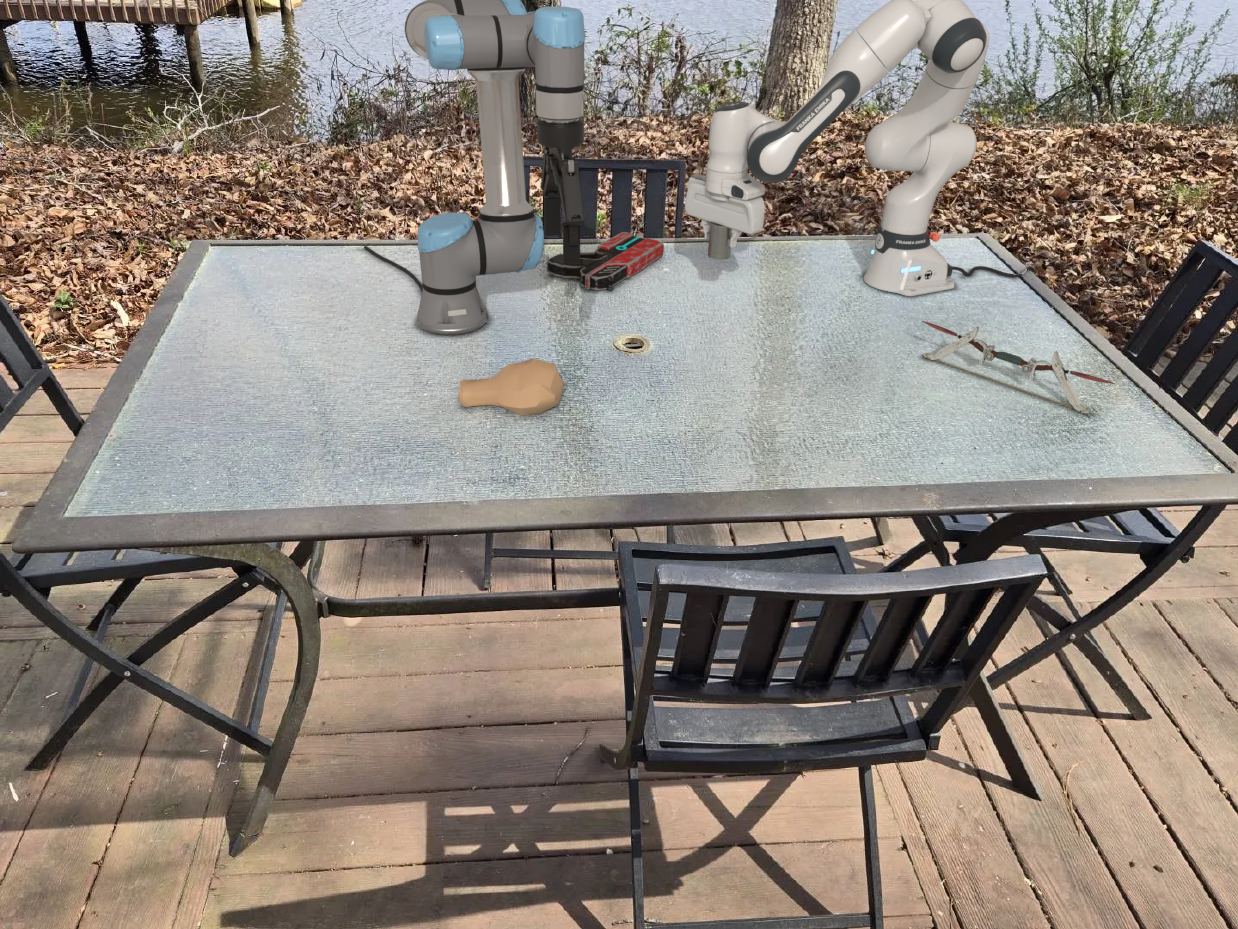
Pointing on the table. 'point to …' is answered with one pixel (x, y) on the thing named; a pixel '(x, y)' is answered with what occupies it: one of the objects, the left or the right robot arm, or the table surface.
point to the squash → (516, 388)
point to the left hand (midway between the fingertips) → (561, 248)
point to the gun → (609, 261)
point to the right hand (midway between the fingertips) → (720, 242)
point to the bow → (1026, 366)
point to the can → (719, 241)
